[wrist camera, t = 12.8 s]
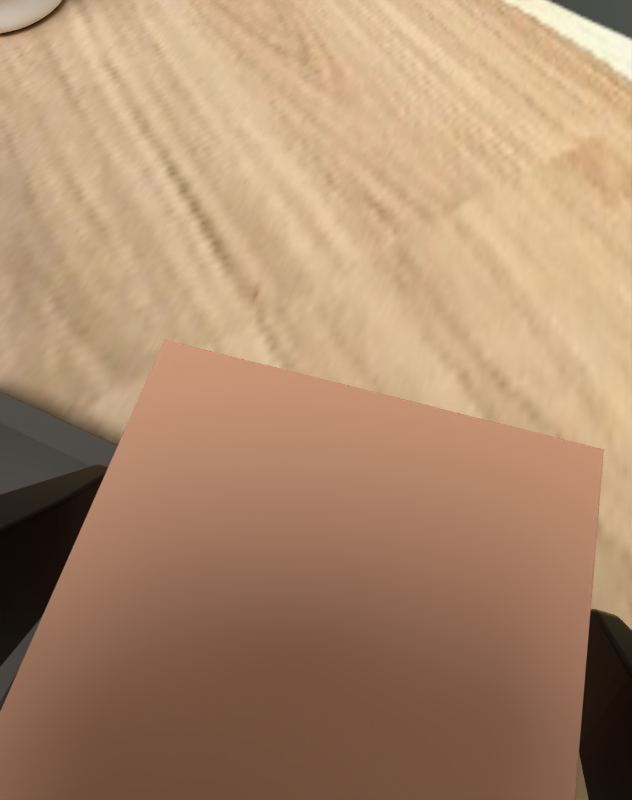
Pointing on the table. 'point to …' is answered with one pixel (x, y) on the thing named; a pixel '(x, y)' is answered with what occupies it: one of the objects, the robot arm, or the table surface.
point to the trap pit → (39, 473)
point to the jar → (23, 12)
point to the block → (312, 603)
